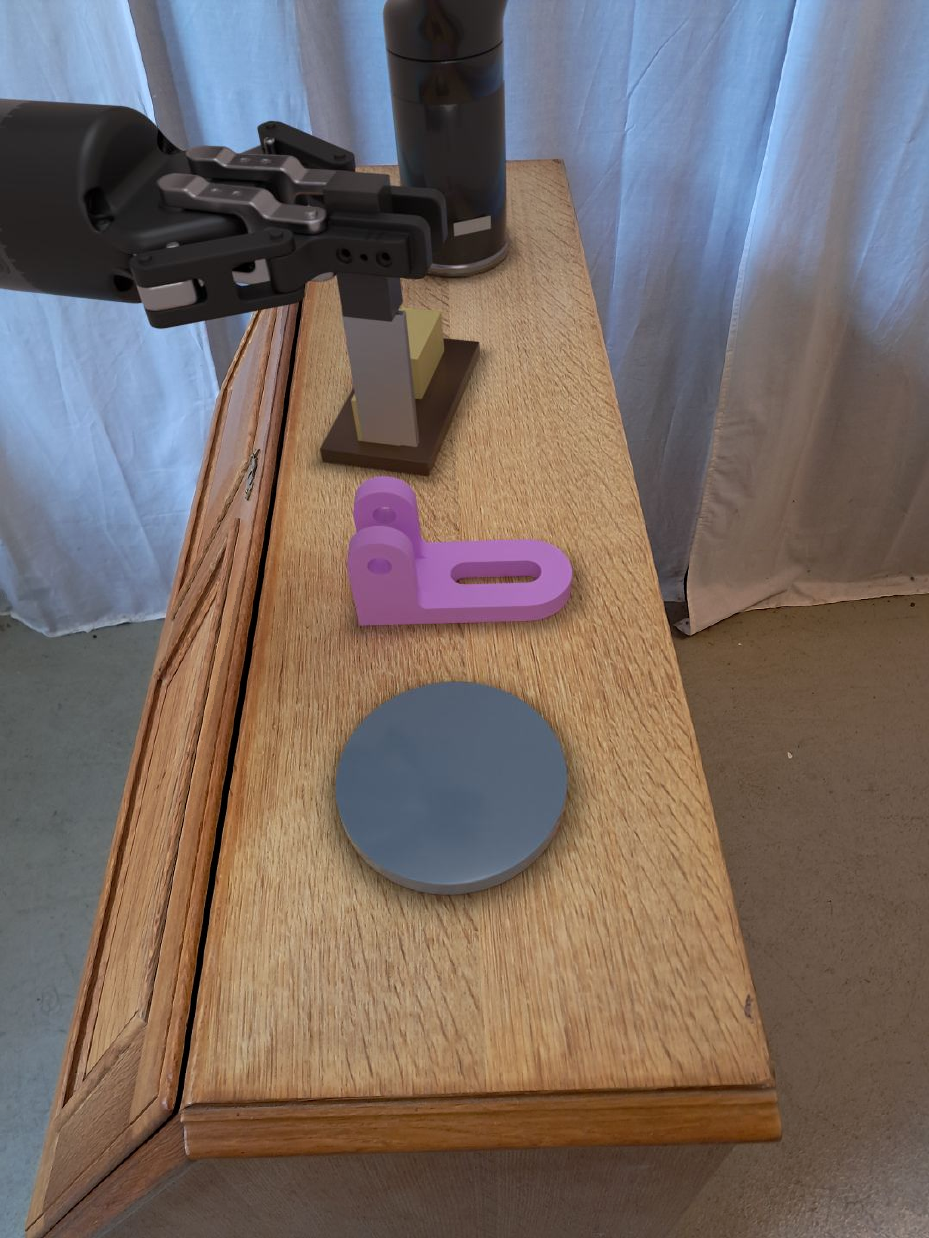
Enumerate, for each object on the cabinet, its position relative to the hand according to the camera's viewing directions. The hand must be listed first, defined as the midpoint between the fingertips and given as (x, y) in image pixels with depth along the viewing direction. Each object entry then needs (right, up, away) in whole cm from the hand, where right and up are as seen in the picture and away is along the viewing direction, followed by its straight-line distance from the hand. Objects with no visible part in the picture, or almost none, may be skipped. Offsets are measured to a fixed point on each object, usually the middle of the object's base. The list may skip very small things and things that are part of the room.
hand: (435, 234), depth 36 cm
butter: (-3, +4, +35) cm, 35 cm away
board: (-3, +1, +34) cm, 34 cm away
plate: (+1, -24, +13) cm, 27 cm away
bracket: (+1, -13, +22) cm, 26 cm away
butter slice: (-5, -2, +30) cm, 31 cm away
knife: (-2, -6, +9) cm, 11 cm away
